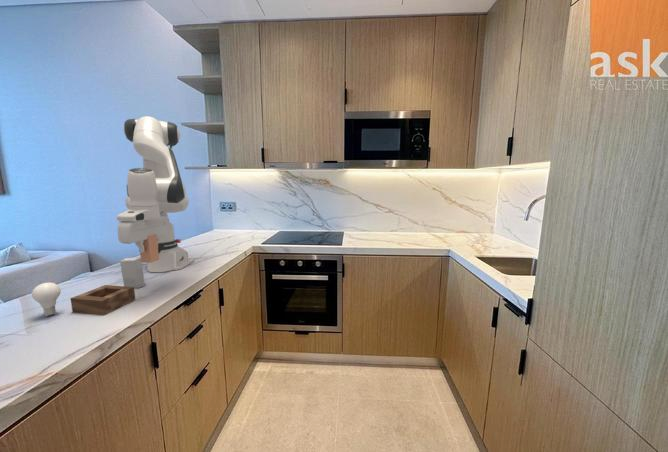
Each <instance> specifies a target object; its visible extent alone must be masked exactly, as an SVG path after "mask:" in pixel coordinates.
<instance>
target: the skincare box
mask: <svg viewBox="0 0 668 452" xmlns="http://www.w3.org/2000/svg"><path fill="white" fill-rule="evenodd" d="M119 263H120V264H119V265H120V268H121V269H120V270H121V275H122V281H123V286H127V287H134V289H140V288H142V287H144V286H145V285H146V282H145V275H144V268H143V262H141V257H125V258H124V259H122V260H119Z"/></svg>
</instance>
